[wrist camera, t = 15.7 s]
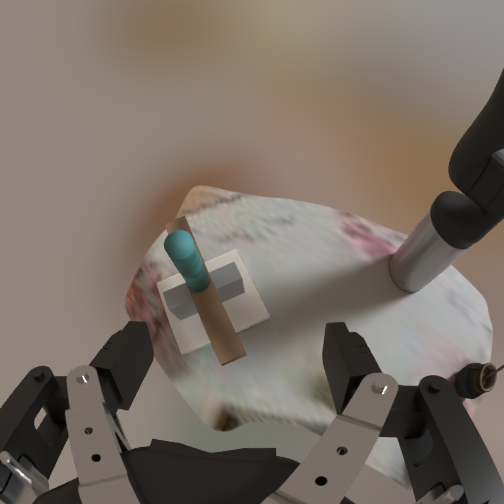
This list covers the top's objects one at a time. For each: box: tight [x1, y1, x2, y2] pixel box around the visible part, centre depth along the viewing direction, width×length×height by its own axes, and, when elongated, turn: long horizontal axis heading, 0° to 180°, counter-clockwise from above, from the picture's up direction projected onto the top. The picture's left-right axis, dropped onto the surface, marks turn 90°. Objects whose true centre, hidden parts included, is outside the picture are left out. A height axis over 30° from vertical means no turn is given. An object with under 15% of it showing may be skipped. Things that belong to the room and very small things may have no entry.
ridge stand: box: [156, 249, 270, 355], centre depth 44 cm, size 16×14×8 cm
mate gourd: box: [456, 363, 504, 399], centre depth 32 cm, size 7×8×10 cm
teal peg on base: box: [164, 216, 247, 366], centre depth 34 cm, size 4×24×13 cm, turn 25°
